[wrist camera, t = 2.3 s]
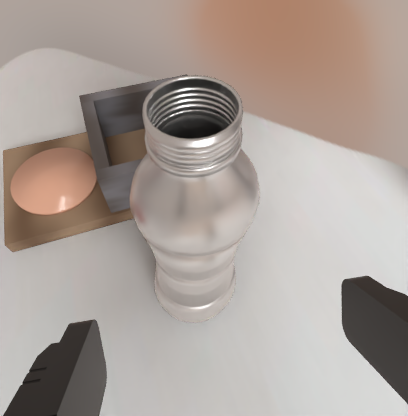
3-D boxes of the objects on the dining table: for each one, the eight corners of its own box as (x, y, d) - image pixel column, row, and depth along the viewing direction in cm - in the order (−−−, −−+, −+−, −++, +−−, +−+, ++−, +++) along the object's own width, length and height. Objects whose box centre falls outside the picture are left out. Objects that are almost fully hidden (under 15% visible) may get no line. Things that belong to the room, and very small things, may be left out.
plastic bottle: (142, 288, 28) (62, 102, 12) (200, 242, 31) (202, 35, 14) (190, 346, 26) (176, 216, 9) (248, 291, 28) (322, 109, 12)
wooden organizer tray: (187, 119, 40) (186, 72, 35) (222, 193, 34) (227, 150, 29) (9, 159, 36) (-24, 114, 31) (12, 252, 30) (-29, 215, 25)
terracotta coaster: (91, 142, 36) (90, 140, 35) (104, 201, 31) (103, 199, 31) (11, 160, 34) (9, 158, 34) (13, 225, 30) (11, 223, 29)
